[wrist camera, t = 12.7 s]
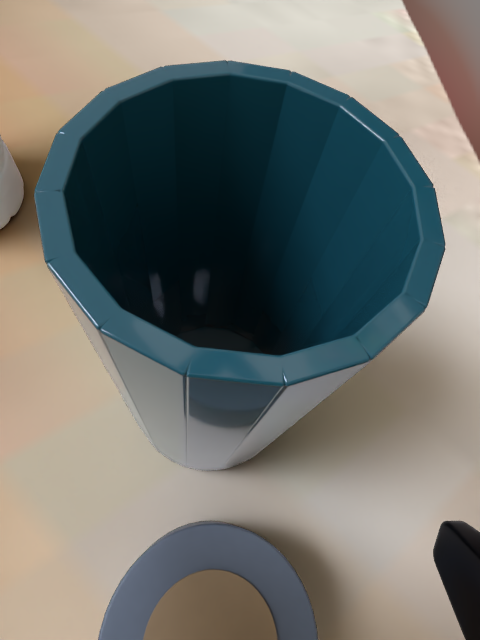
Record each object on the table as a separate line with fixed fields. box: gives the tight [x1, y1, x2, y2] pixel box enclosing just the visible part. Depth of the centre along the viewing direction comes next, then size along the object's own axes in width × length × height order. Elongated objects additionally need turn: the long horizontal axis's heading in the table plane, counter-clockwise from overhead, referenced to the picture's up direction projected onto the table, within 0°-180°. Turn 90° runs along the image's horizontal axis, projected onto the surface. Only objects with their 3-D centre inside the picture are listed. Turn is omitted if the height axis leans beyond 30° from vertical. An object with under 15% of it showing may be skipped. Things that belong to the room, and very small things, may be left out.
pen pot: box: [34, 60, 445, 471], centre depth 13 cm, size 7×7×13 cm
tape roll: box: [98, 521, 318, 640], centre depth 13 cm, size 7×7×3 cm
